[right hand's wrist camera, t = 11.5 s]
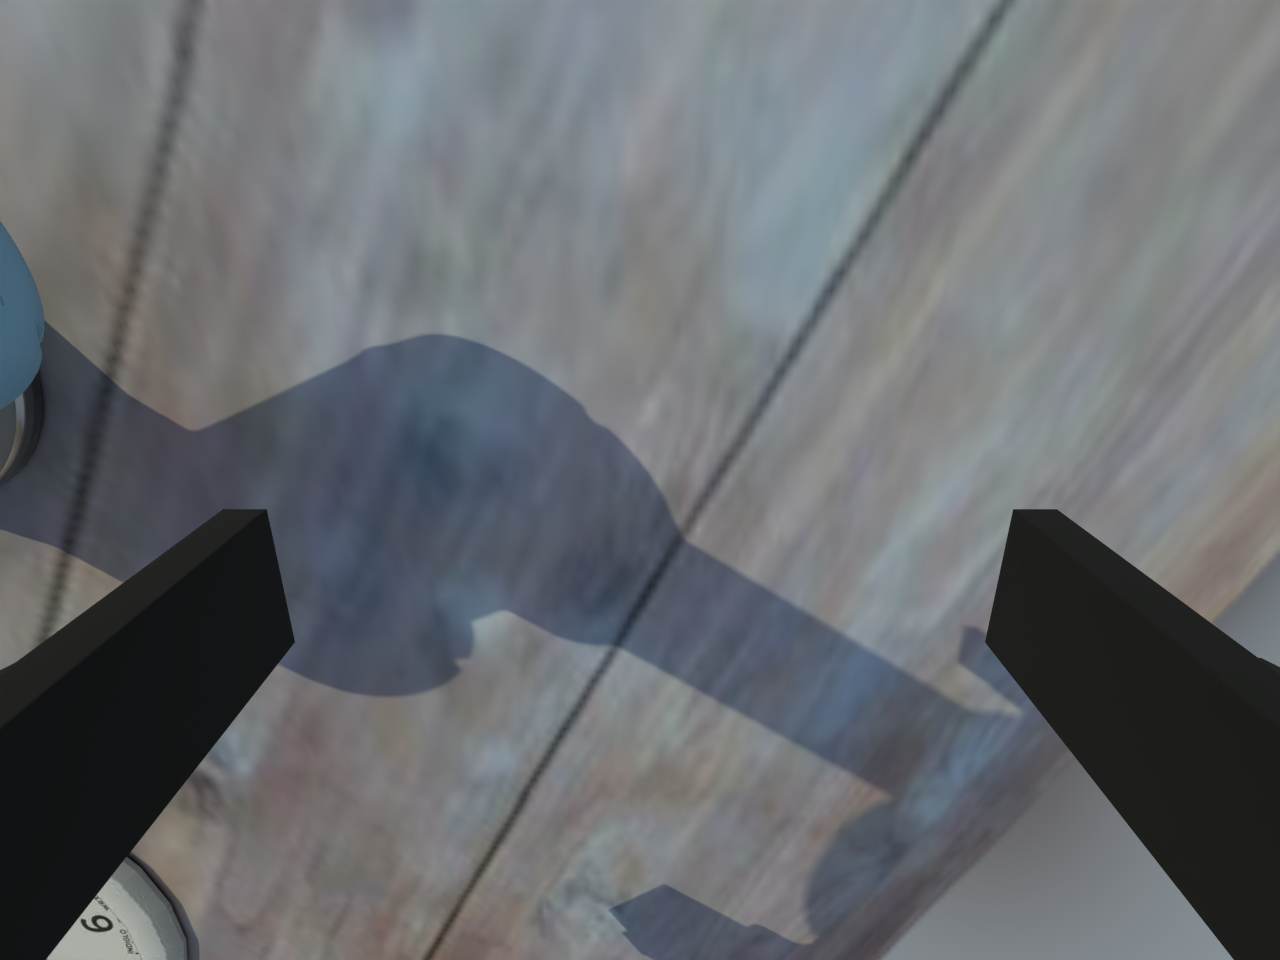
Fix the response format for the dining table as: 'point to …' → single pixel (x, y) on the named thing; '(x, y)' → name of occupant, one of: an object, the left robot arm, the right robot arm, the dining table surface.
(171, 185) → the dining table surface
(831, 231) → the dining table surface
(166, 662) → the right robot arm
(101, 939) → the wall clock
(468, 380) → the dining table surface
